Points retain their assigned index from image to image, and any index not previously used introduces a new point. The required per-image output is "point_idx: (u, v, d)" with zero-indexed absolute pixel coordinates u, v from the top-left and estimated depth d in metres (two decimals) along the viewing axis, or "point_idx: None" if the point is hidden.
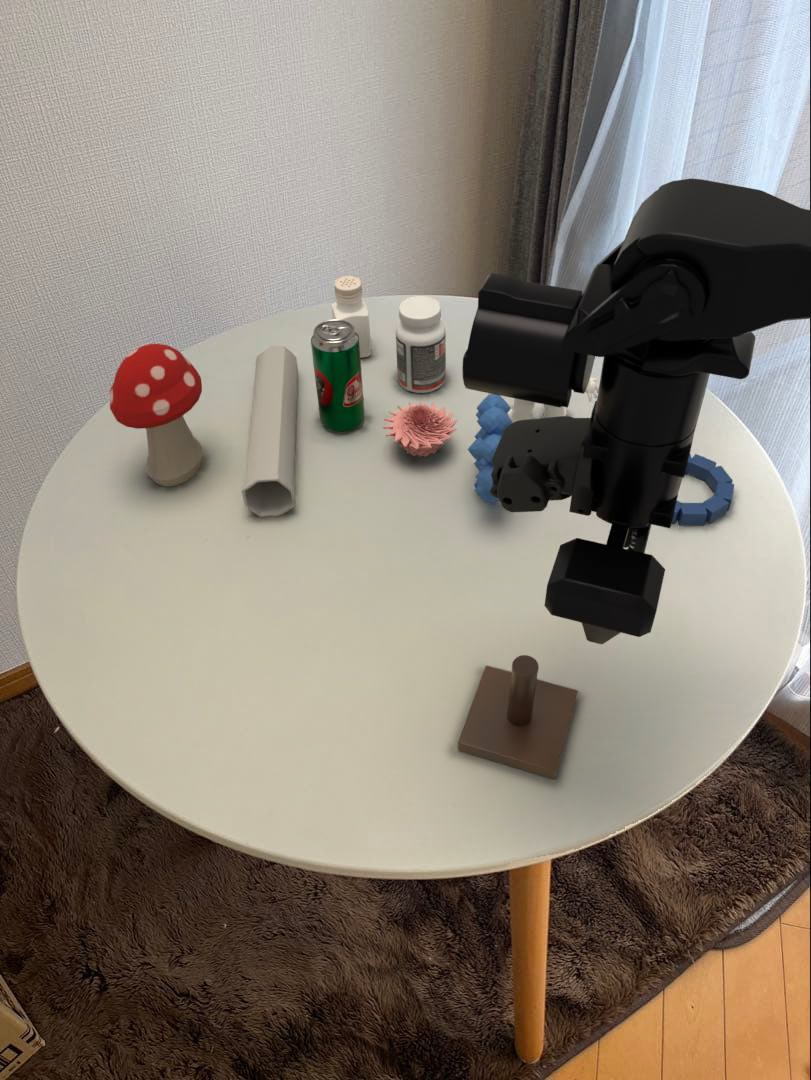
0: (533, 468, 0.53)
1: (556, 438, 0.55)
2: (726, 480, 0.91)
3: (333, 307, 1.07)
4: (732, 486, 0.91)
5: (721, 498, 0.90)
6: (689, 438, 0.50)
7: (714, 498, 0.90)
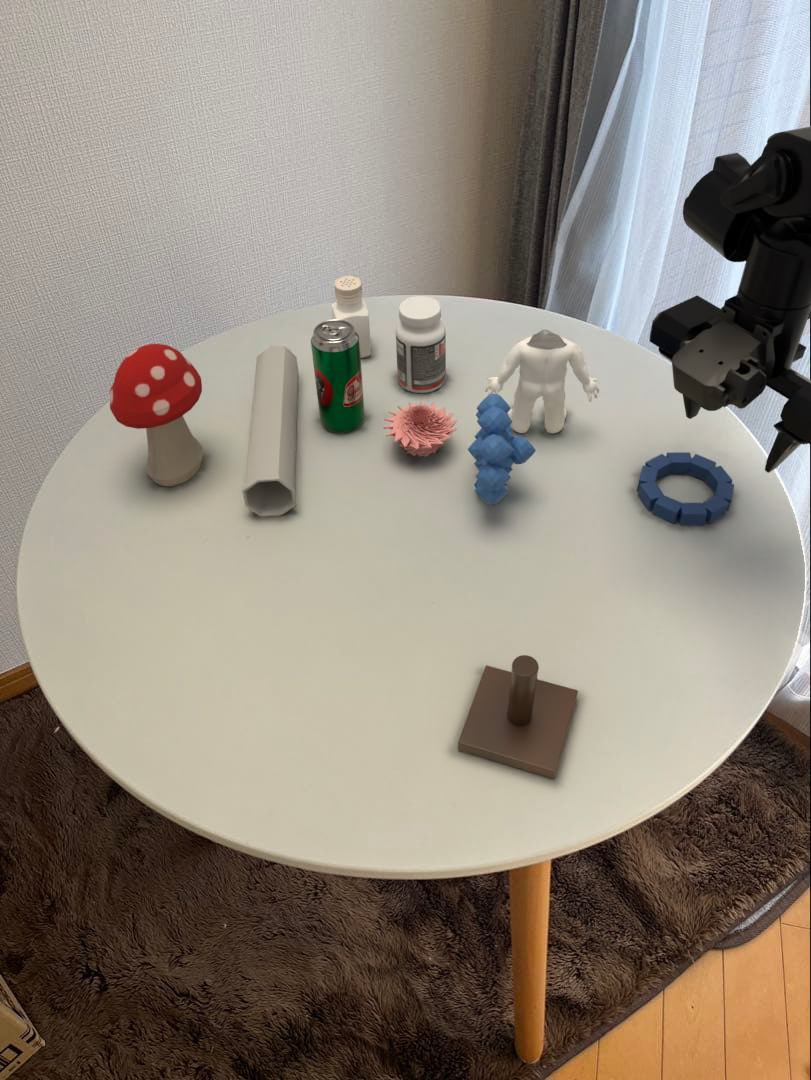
0: None
1: (723, 345, 0.71)
2: (726, 480, 0.91)
3: (333, 307, 1.07)
4: (732, 486, 0.91)
5: (721, 498, 0.90)
6: None
7: (714, 498, 0.90)
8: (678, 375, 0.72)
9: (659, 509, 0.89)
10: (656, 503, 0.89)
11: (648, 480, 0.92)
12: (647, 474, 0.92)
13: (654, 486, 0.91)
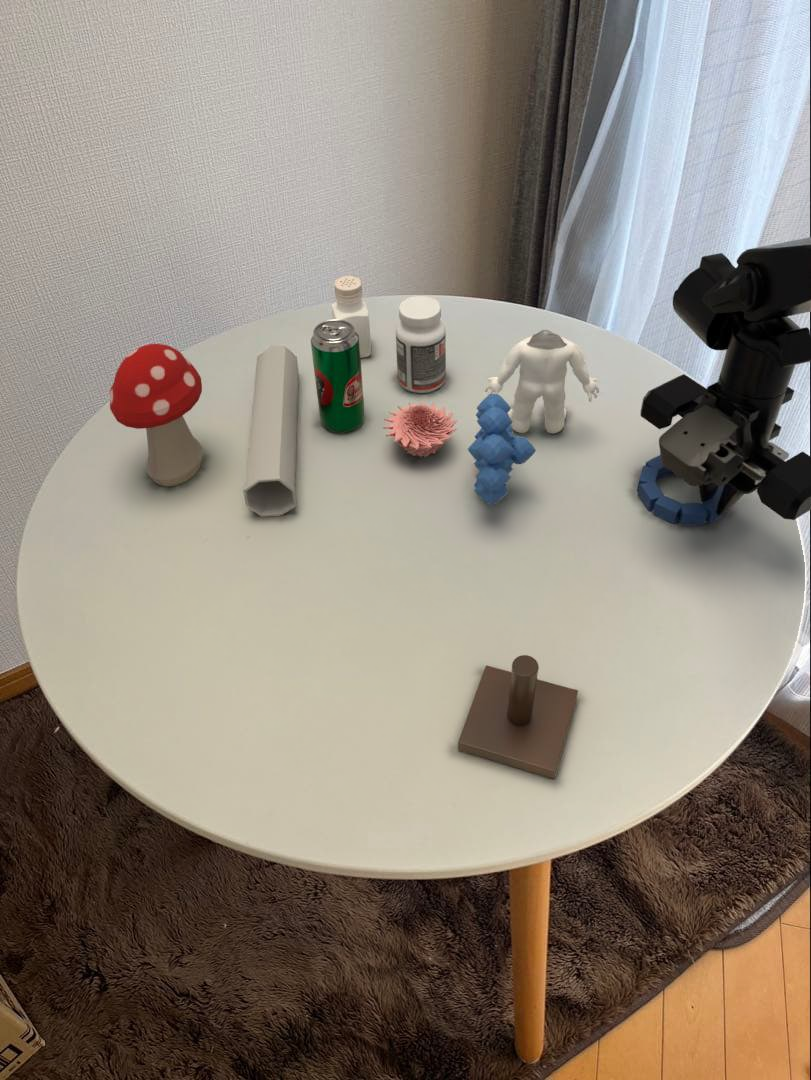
0: None
1: (705, 428, 0.79)
2: None
3: (333, 307, 1.07)
4: None
5: None
6: None
7: (714, 498, 0.90)
8: (665, 454, 0.80)
9: (659, 509, 0.89)
10: (656, 503, 0.89)
11: (649, 480, 0.92)
12: (647, 474, 0.92)
13: (654, 486, 0.91)
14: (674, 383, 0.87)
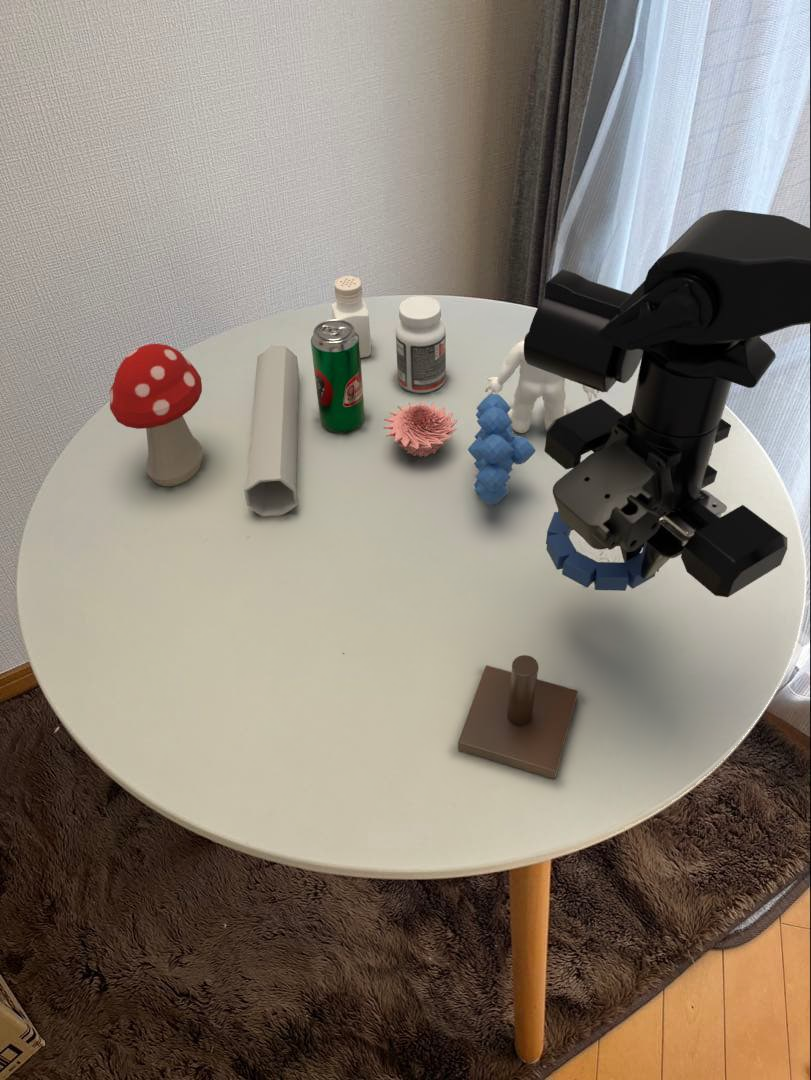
0: (642, 503, 0.57)
1: (612, 473, 0.60)
2: None
3: (333, 307, 1.07)
4: None
5: None
6: None
7: (639, 556, 0.70)
8: (560, 506, 0.61)
9: (569, 569, 0.70)
10: (565, 562, 0.70)
11: (559, 531, 0.73)
12: (558, 523, 0.73)
13: (565, 539, 0.72)
14: (586, 410, 0.68)
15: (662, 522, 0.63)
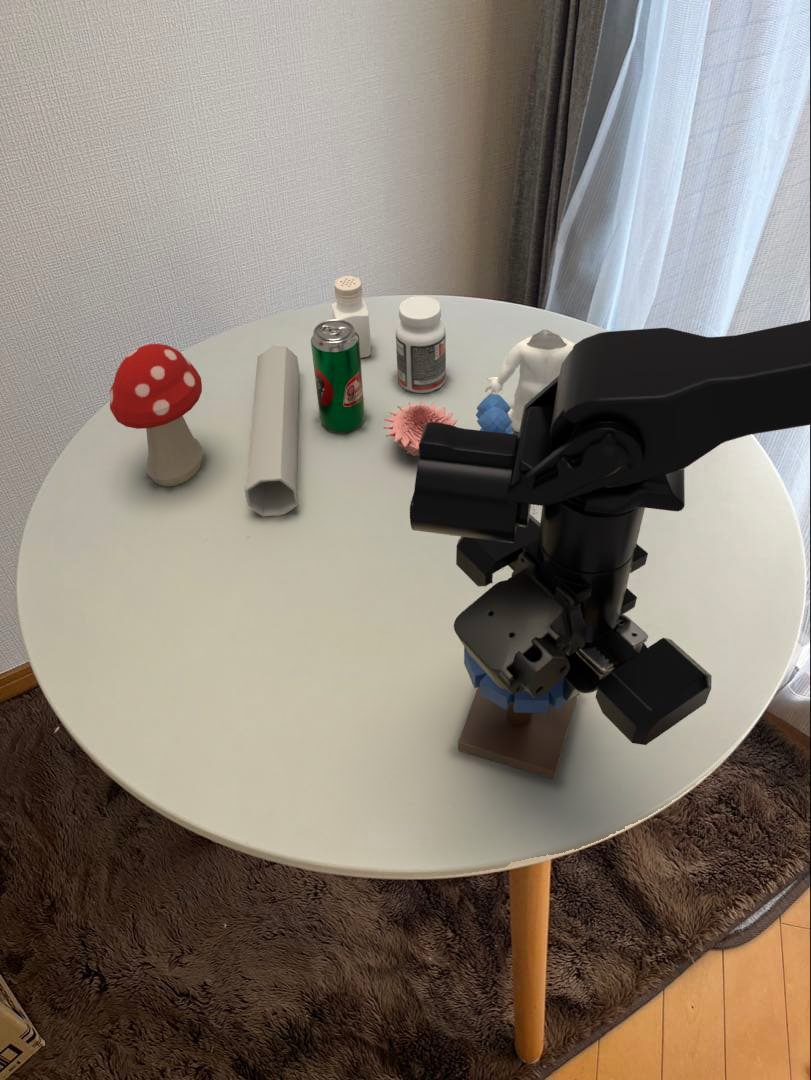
0: (547, 647, 0.52)
1: (518, 607, 0.54)
2: None
3: (333, 307, 1.07)
4: None
5: None
6: None
7: None
8: (463, 643, 0.55)
9: (486, 690, 0.65)
10: (482, 682, 0.65)
11: None
12: None
13: None
14: None
15: (578, 652, 0.58)
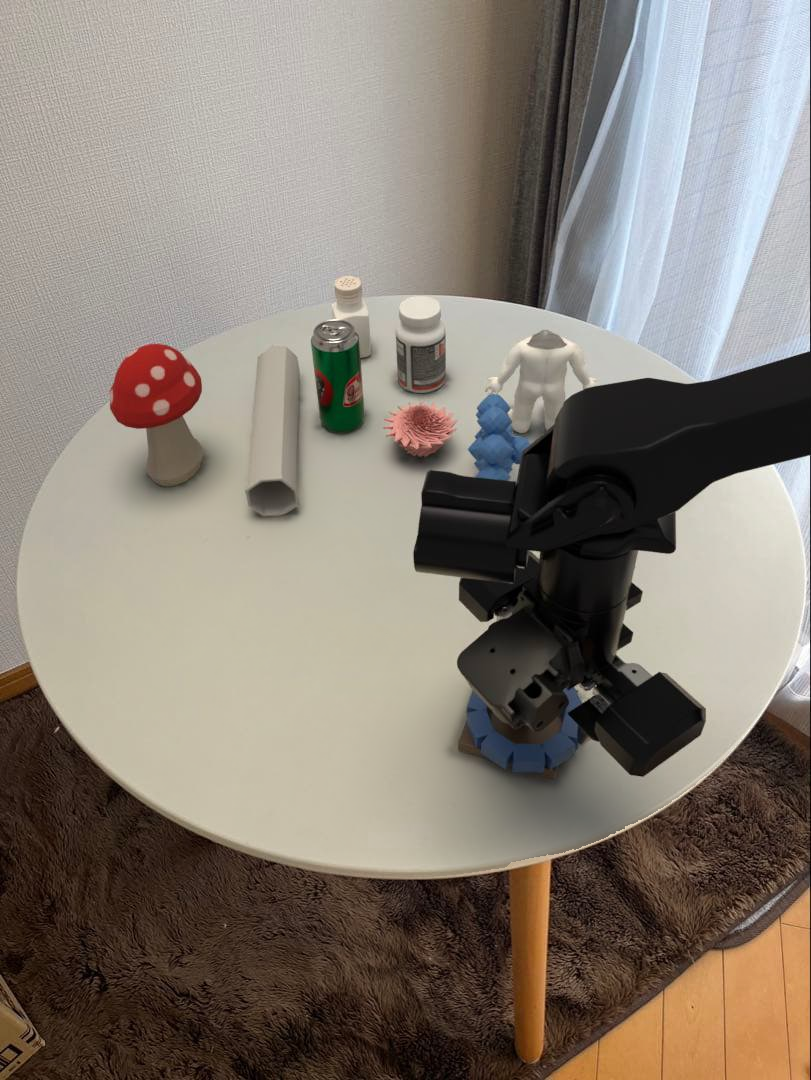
0: (547, 683, 0.54)
1: (519, 645, 0.56)
2: None
3: (333, 307, 1.07)
4: None
5: (567, 736, 0.70)
6: None
7: (557, 737, 0.70)
8: (466, 679, 0.57)
9: (487, 751, 0.70)
10: (483, 744, 0.70)
11: (478, 707, 0.72)
12: (478, 697, 0.73)
13: (484, 717, 0.71)
14: None
15: (593, 701, 0.59)
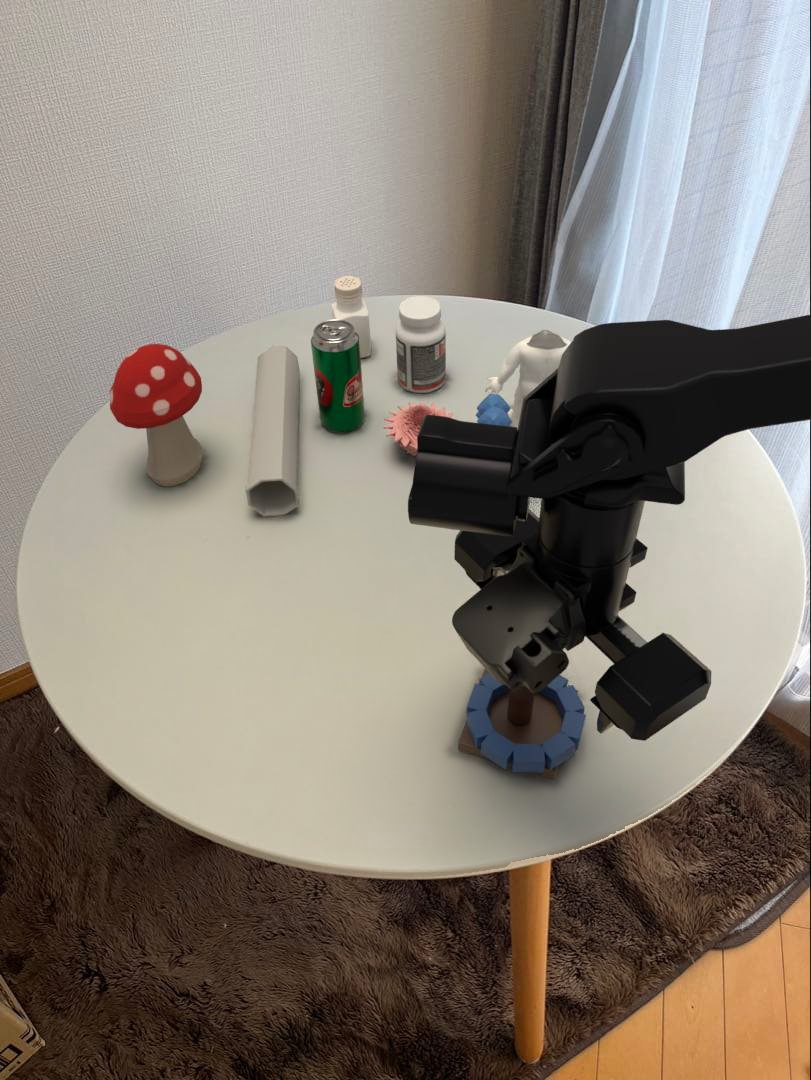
0: (546, 641, 0.51)
1: (517, 602, 0.54)
2: (576, 708, 0.72)
3: (333, 307, 1.07)
4: (583, 718, 0.71)
5: (567, 736, 0.70)
6: None
7: (557, 737, 0.70)
8: (461, 637, 0.54)
9: (487, 751, 0.70)
10: (483, 744, 0.70)
11: (478, 707, 0.72)
12: (478, 697, 0.73)
13: (484, 717, 0.71)
14: None
15: None
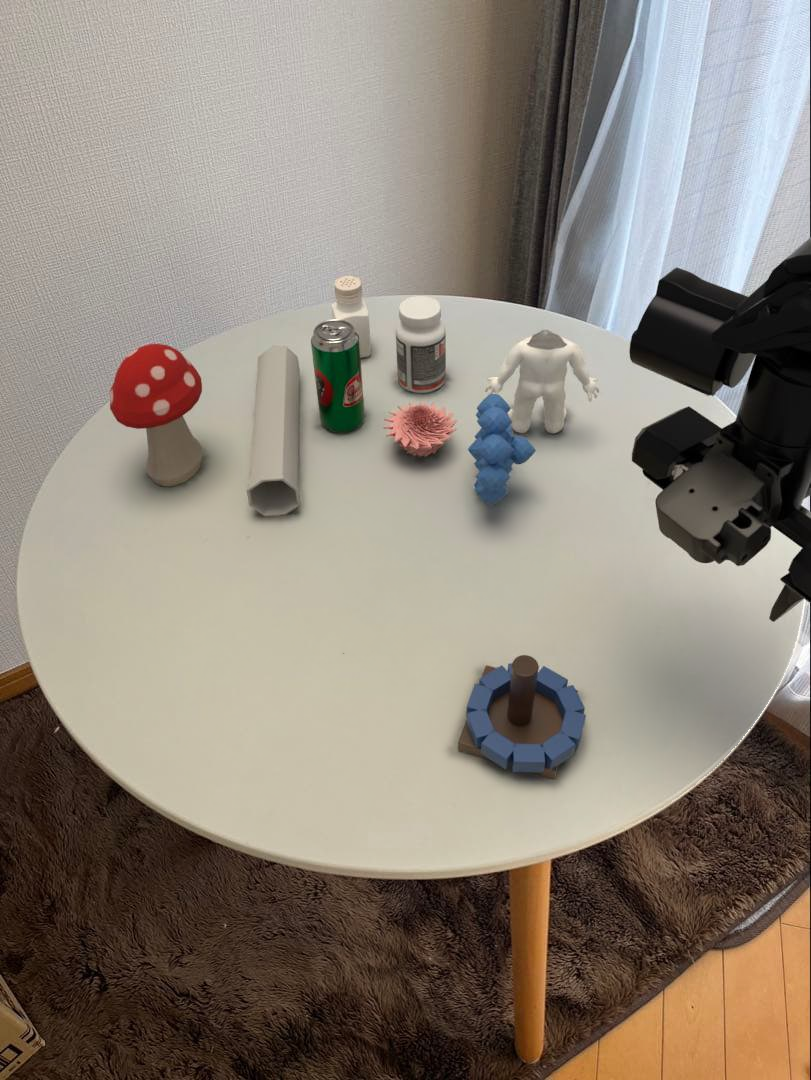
0: (754, 516, 0.55)
1: (719, 484, 0.58)
2: (576, 708, 0.72)
3: (333, 307, 1.07)
4: (583, 718, 0.71)
5: (567, 736, 0.70)
6: None
7: (557, 737, 0.70)
8: (663, 519, 0.59)
9: (487, 751, 0.70)
10: (483, 744, 0.70)
11: (478, 707, 0.72)
12: (478, 697, 0.73)
13: (484, 717, 0.71)
14: (676, 419, 0.66)
15: None
